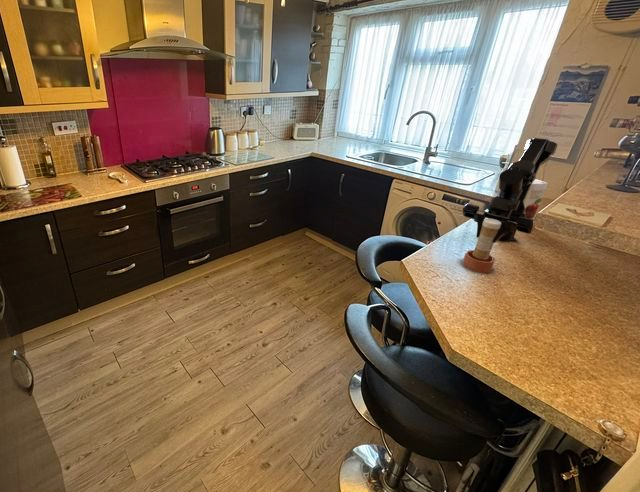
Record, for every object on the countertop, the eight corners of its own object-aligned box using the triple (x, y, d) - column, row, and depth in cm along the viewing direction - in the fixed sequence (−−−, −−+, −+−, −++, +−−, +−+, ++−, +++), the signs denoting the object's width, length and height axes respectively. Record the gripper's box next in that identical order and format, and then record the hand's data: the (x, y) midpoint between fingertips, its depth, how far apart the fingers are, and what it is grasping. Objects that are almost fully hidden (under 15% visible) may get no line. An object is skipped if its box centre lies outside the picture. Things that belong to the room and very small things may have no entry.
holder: (479, 259, 113) (483, 249, 112) (496, 272, 106) (500, 262, 104) (457, 260, 113) (460, 250, 112) (473, 273, 106) (476, 262, 104)
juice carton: (501, 218, 145) (516, 178, 137) (518, 217, 145) (534, 177, 137) (516, 226, 138) (533, 184, 130) (534, 225, 139) (552, 183, 131)
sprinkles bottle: (479, 252, 111) (491, 217, 105) (491, 259, 107) (505, 222, 101) (468, 254, 110) (480, 219, 104) (481, 261, 106) (494, 224, 100)
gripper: (472, 180, 107) (451, 220, 105) (545, 195, 94) (523, 240, 92) (473, 196, 115) (454, 233, 113) (541, 212, 102) (520, 254, 100)
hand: (485, 239), depth 104 cm, fingers closed on sprinkles bottle, 4 cm apart
